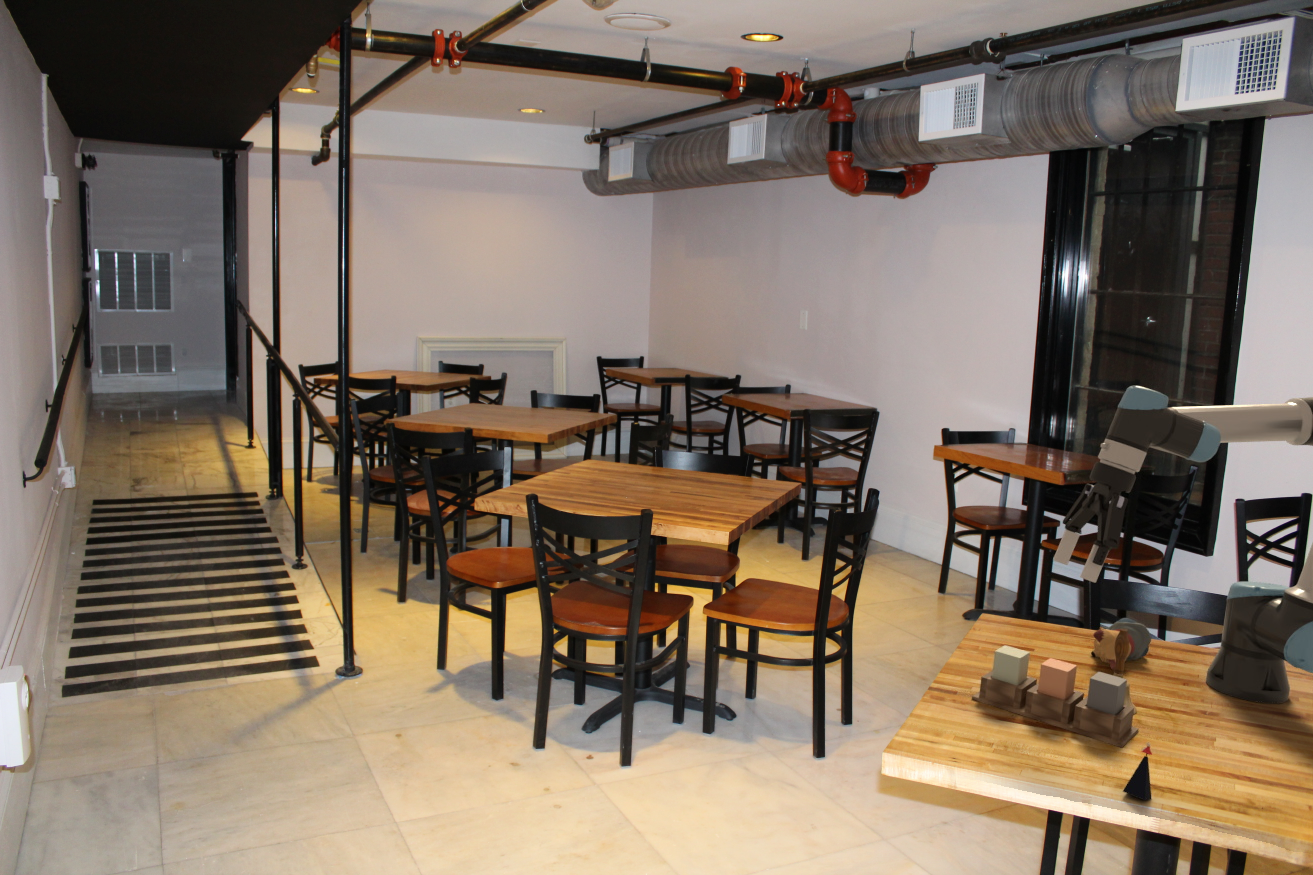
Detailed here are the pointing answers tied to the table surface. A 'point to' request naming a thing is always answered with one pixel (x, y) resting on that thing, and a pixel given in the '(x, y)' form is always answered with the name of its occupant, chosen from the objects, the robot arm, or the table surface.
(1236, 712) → the table surface
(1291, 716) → the table surface
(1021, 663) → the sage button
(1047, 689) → the terracotta button
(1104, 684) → the grey square block
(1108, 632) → the figurine
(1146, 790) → the figurine
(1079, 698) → the wooden base
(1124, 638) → the hand bell
